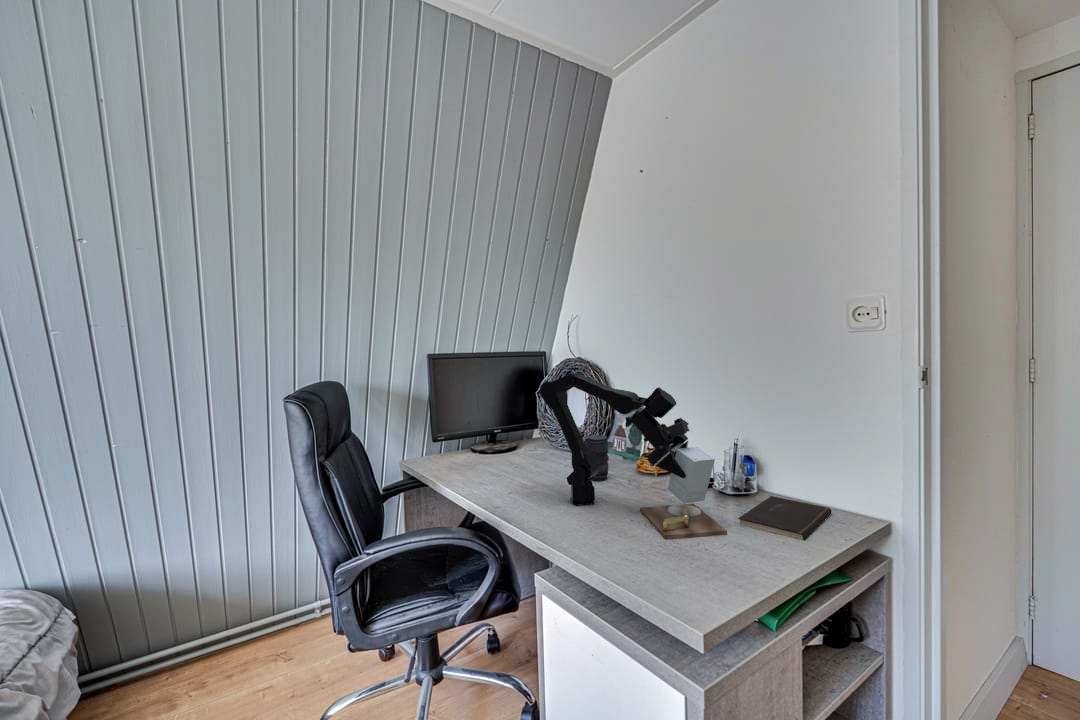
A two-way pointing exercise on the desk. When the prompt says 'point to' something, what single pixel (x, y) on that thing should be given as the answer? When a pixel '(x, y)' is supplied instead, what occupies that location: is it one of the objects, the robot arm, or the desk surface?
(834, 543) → the desk surface
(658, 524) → the walnut board
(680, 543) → the desk surface
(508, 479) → the desk surface
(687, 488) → the supplement box
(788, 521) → the hardcover book
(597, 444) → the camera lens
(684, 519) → the bent brass wire
